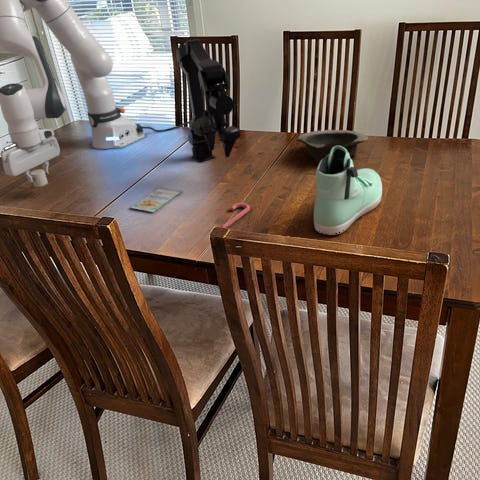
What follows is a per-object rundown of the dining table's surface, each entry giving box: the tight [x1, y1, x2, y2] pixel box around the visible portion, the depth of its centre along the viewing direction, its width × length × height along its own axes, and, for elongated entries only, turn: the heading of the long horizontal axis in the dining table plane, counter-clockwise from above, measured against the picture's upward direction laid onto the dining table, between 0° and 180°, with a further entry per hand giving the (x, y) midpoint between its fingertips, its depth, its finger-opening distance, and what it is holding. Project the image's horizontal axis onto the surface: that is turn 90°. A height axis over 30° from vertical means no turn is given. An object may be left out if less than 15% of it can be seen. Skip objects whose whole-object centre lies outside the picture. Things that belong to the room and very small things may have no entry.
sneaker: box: [313, 146, 383, 236], centre depth 133 cm, size 14×35×20 cm, turn 152°
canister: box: [29, 168, 48, 188], centre depth 159 cm, size 4×4×4 cm
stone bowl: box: [296, 129, 369, 165], centre depth 171 cm, size 25×25×9 cm
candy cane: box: [220, 202, 251, 229], centre depth 139 cm, size 6×15×2 cm, turn 145°
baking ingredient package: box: [130, 188, 181, 213], centre depth 152 cm, size 9×1×15 cm
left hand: (39, 178), depth 159 cm, fingers closed on canister, 4 cm apart
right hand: (219, 153), depth 159 cm, fingers open, 9 cm apart
